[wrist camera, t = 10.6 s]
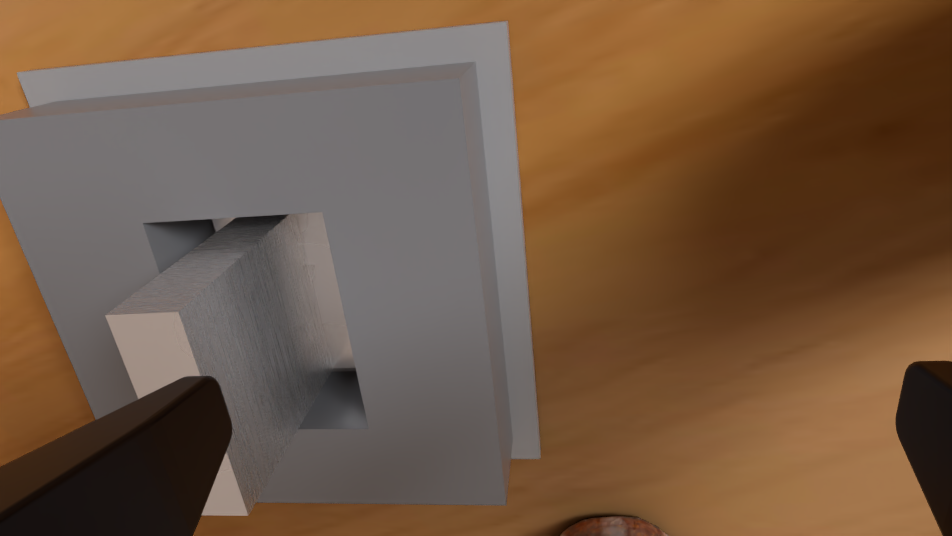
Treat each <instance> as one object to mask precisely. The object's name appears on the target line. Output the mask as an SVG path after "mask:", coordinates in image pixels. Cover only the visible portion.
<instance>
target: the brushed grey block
mask: <svg viewBox="0 0 952 536" xmlns="http://www.w3.org/2000/svg"><path fill="white" fill-rule="evenodd" d="M212 221H213V224H214V227H215V231H216V233H215V234H213V235H212V236H211V237H209V238H208V239H207V240H205V241H204V242H203V243H201V244H200V245H199V246H197V247H196V248H194V249H193V250H192V251H190V252H189V253H188V254H186V255H185V256H184V257H182V258H181V259H180V260H178V261H177V262H176V263H174V264H173V265H172V266H170V267H169V268H168V269H166V270H165V271H164V272H162V273H161V274H160V275H158V276H157V277H156V278H154V279H153V280H152V281H150V282H149V283H148V284H146V285H145V286H144V287H142V288H141V289H140V290H138V291H137V292H135V293H134V294H133V295H131V296H130V297H129V298H127V299H126V300H125V301H123V302H122V303H121V304H119V305H118V306H117V307H115V308H114V309H113V310H111V311H110V312H109V313H107V314H106V315H105V316H106V319H107V321H108V324H109V326H110V329H111V331H112V334H113V336H114V339H115V342H116V344H117V347H118V349H119V352H120V354H121V357H122V359H123V362H124V364H125V367H126V369H127V372H128V374H129V377H130V379H131V382H132V384H133V387H134V389H135V392H136V394H137V397H138V399H139V398H142V397H144V396H146V395H148V394H150V393H152V392H154V391H156V390H158V389H160V388H162V387H164V386H166V385H168V384H170V383H172V382H174V381H176V380H178V379H180V378H183V377H186V376H212V377H214V378H215V379H216V380H217V381H218V382H219V385H220V387H221V390H222V393H223V396H224V400H225V403H226V406H227V409H228V412H229V415H230V418H231V422H232V437H231V441H230V444H229V446H228V449H227V451H226V454H225V456H224V459H223V461H222V464H221V466H220V469H219V471H218V474H217V477H216V479H215V482H214V484H213V487H212V489H211V492H210V494H209V497H208V499H207V502H206V505H205V507H204V510H203V512H202V515H219V516H249V514H250V512H251V510H252V509H253V507H254V505H255V503H256V502H257V500H258V498H259V496H260V495H261V493H262V491H263V489H264V488H265V486H266V484H267V482H268V481H269V479H270V477H271V476H272V474H273V472H274V470H275V469H276V467H277V465H278V463H279V462H280V460H281V458H282V456H283V455H284V453H285V451H286V449H287V448H288V446H289V444H290V442H291V441H292V439H293V437H294V436H295V434H296V432H297V430H298V429H299V427H300V425H301V423H302V422H303V420H304V418H305V416H306V415H307V413H308V411H309V409H310V408H311V406H312V404H313V402H314V401H315V399H316V397H317V396H318V394H319V392H320V390H321V389H322V387H323V385H324V383H325V382H326V380H327V378H328V376H329V375H330V373H331V371H332V369H333V368H356V367H355V363H354V358H353V353H352V349H351V344H350V339H349V335H348V330H347V325H346V321H345V316H344V312H343V307H342V302H341V298H340V293H339V288H338V284H337V279H336V274H335V270H334V265H333V260H332V256H331V251H330V246H329V242H328V237H327V232H326V228H325V223H324V218H323V214H322V212H318V213H302V214H285V215H269V216H252V217H236V218H220V219H212Z"/></svg>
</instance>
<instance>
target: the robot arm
mask: <svg viewBox="0 0 952 536" xmlns="http://www.w3.org/2000/svg"><path fill="white" fill-rule="evenodd" d="M896 430H897V434H898V437H899V440H900V442H901V444H902V446H903V449H904V451H905V453H906V455H907V457H908V460H909V462H910V464H911V466H912V469H913V471H914V473H915V475H916V477H917V480H918V482H919V484H920V486H921V489H922V491H923V493H924V495H925V497H926V500H927V502H928V504H929V506H930V509H931V511H932V513H933V515H934V517H935V520H936V522H937V524H938V526H939V529H940V531H941V533H942V535H943V536H952V362H951V361H917V362H914V363H912V364H910V365H909V366H908V368H907V369H906V372H905V375H904V380H903V385H902V389H901V394H900V399H899V404H898V408H897V413H896ZM231 437H232V422H231V418H230V415H229V412H228V409H227V406H226V403H225V400H224V396H223V393H222V390H221V387H220V385H219V382H218V381H217V380H216V379H215V378H214V377H212V376H186V377H183V378H180V379H178V380H176V381H174V382H172V383H170V384H168V385H166V386H164V387H162V388H160V389H158V390H156V391H154V392H152V393H150V394H148V395H146V396H144V397H142V398H139V399H137V400H135V401H133V402H131V403H129V404H127V405H125V406H123V407H121V408H119V409H117V410H115V411H113V412H111V413H109V414H107V415H105V416H103V417H101V418H99V419H97V420H95V421H93V422H91V423H89V424H87V425H84V426H82V427H80V428H78V429H76V430H74V431H72V432H70V433H68V434H66V435H64V436H62V437H60V438H58V439H56V440H54V441H52V442H50V443H48V444H46V445H44V446H42V447H40V448H38V449H36V450H34V451H32V452H29V453H27V454H25V455H23V456H21V457H19V458H17V459H15V460H13V461H11V462H9V463H7V464H5V465H3V466H1V467H0V536H193V534H194V531H195V529H196V527H197V525H198V522H199V520H200V517H201V515H202V512H203V510H204V507H205V505H206V502H207V499H208V497H209V494H210V492H211V489H212V487H213V484H214V482H215V479H216V477H217V474H218V471H219V469H220V466H221V464H222V461H223V459H224V456H225V454H226V451H227V449H228V446H229V444H230V441H231Z"/></svg>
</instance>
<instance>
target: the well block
mask: <svg viewBox="0 0 952 536" xmlns="http://www.w3.org/2000/svg"><path fill="white" fill-rule="evenodd" d="M17 75H18V78H19V81H20V83H21V86H22V88H23V91H24V93H25V96H26V99H27V101H28V104H29V106H30V108H26V109H22V110H18V111H14V112H10V113H6V114H2V115H0V199H1V201H2V203H3V206H4V208H5V210H6V213H7V215H8V217H9V220H10V222H11V224H12V227H13V229H14V231H15V234H16V236H17V238H18V241H19V243H20V245H21V248H22V250H23V252H24V254H25V257H26V259H27V261H28V264H29V266H30V268H31V271H32V273H33V275H34V278H35V280H36V282H37V285H38V287H39V289H40V292H41V294H42V296H43V299H44V301H45V303H46V305H47V308H48V310H49V312H50V315H51V317H52V319H53V322H54V324H55V326H56V329H57V331H58V333H59V336H60V338H61V340H62V343H63V345H64V347H65V350H66V352H67V354H68V356H69V359H70V361H71V363H72V366H73V368H74V370H75V373H76V375H77V377H78V380H79V382H80V384H81V387H82V389H83V391H84V394H85V396H86V398H87V401H88V403H89V405H90V407H91V410H92V412H93V414H94V417H95V419H96V420H97V419H99V418H101V417H103V416H105V415H107V414H109V413H111V412H113V411H115V410H117V409H119V408H121V407H123V406H125V405H127V404H129V403H131V402H133V401H135V400H137V399H138V397H137V394H136V392H135V389H134V387H133V384H132V382H131V379H130V377H129V374H128V372H127V369H126V367H125V364H124V362H123V359H122V357H121V354H120V352H119V349H118V347H117V344H116V342H115V339H114V336H113V334H112V331H111V329H110V326H109V324H108V321H107V319H106V316H105V315H106V314H107V313H109V312H110V311H111V310H113V309H114V308H115V307H117V306H118V305H119V304H121V303H122V302H123V301H125V300H126V299H127V298H129V297H130V296H131V295H133V294H134V293H135V292H137V291H138V290H140V289H141V288H142V287H144V286H145V285H146V284H148V283H149V282H150V281H152V280H153V279H154V278H156V277H157V276H158V275H160V274H161V273H162V272H164V271H165V270H166V269H168V268H169V267H170V266H172V265H173V264H174V263H176V262H177V261H178V260H180V259H181V258H182V257H184V256H185V255H186V254H188V253H189V252H190V251H192V250H193V249H194V248H196V247H197V246H199V245H200V244H201V243H203V242H204V241H205V240H207V239H208V238H209V237H211V236H212V235H213V234H215V233H216V231H215V227H214V224H213V221H212V219H220V218H236V217H252V216H269V215H285V214H302V213H318V212H322V214H323V218H324V223H325V228H326V232H327V237H328V242H329V246H330V251H331V256H332V260H333V265H334V270H335V274H336V279H337V284H338V288H339V293H340V298H341V302H342V307H343V312H344V316H345V321H346V325H347V330H348V335H349V339H350V344H351V349H352V353H353V358H354V363H355V367H356V368H333V369H332V371H331V373H330V375H329V376H328V378H327V380H326V382H325V383H324V385H323V387H322V389H321V390H320V392H319V394H318V396H317V397H316V399H315V401H314V402H313V404H312V406H311V408H310V409H309V411H308V413H307V415H306V416H305V418H304V420H303V422H302V423H301V425H300V427H299V429H298V430H297V432H296V434H295V436H294V437H293V439H292V441H291V442H290V444H289V446H288V448H287V449H286V451H285V453H284V455H283V456H282V458H281V460H280V462H279V463H278V465H277V467H276V469H275V470H274V472H273V474H272V476H271V477H270V479H269V481H268V482H267V484H266V486H265V488H264V489H263V491H262V493H261V495H260V496H259V498H258V500H257V502H258V503H342V504H426V505H506V504H507V494H508V483H509V473H510V463H511V459H540V455H541V445H540V432H539V419H538V406H537V393H536V380H535V367H534V354H533V341H532V328H531V315H530V302H529V289H528V276H527V263H526V250H525V237H524V224H523V211H522V198H521V184H520V171H519V158H518V145H517V132H516V119H515V106H514V93H513V80H512V67H511V54H510V41H509V28H508V21H499V22H489V23H479V24H470V25H460V26H451V27H441V28H431V29H422V30H412V31H403V32H393V33H383V34H374V35H364V36H354V37H345V38H335V39H326V40H316V41H306V42H297V43H287V44H278V45H268V46H258V47H249V48H239V49H230V50H220V51H210V52H201V53H191V54H182V55H172V56H162V57H153V58H143V59H134V60H124V61H114V62H105V63H95V64H86V65H76V66H66V67H57V68H47V69H37V70H29V71H23V72H18V73H17Z"/></svg>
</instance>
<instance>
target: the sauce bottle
mask: <svg viewBox="0 0 952 536" xmlns="http://www.w3.org/2000/svg"><path fill="white" fill-rule="evenodd" d="M560 536H668V535H667V534H666V533H664V532H663V531H661V530H660V529H659V527H657V526H656V525H652V524H651V523H649V522H647V521H645V520H643V519H641V518H639V517H626V516H623V517H622V516H611V517H596V518H590V519H585V520H582V521H580V522H578V523H575V524H574V525H572V526H569V527H568V528H567V529H566V530H565V531H563V532H562V534H561V535H560Z"/></svg>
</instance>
